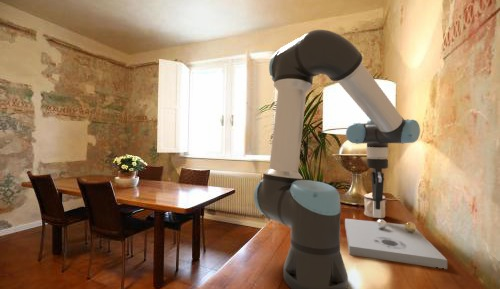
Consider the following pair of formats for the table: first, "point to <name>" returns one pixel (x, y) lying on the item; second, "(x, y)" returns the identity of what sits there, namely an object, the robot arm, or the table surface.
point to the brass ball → (410, 227)
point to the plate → (391, 244)
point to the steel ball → (381, 224)
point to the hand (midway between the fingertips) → (377, 216)
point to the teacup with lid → (369, 206)
